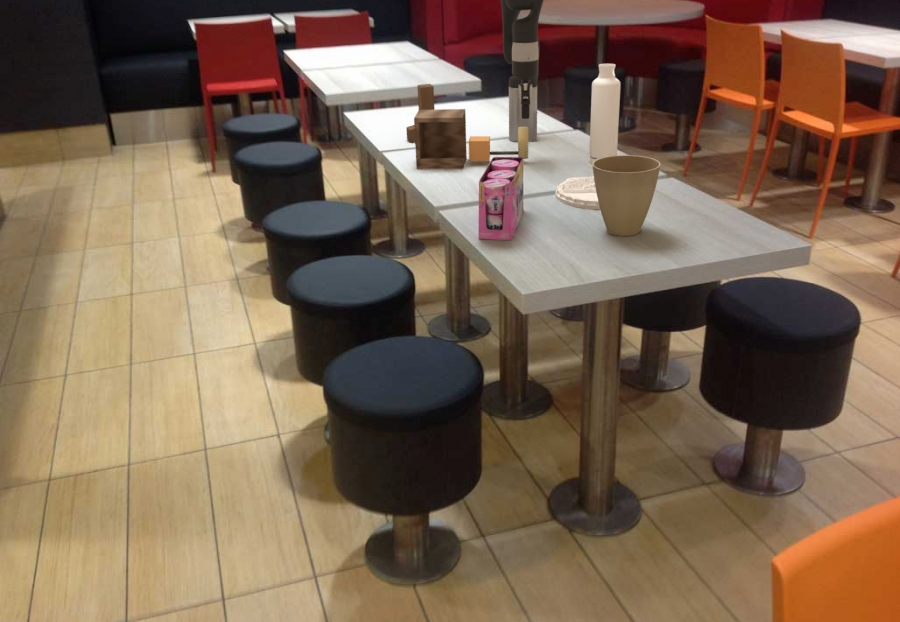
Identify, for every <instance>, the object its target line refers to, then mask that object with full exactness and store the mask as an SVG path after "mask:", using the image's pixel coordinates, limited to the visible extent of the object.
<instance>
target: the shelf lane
mask: <svg viewBox="0 0 900 622" xmlns="http://www.w3.org/2000/svg"><path fill="white" fill-rule="evenodd" d="M466 118H467V117H466V109H465V108H464V109H463V108H458V109H457V108H453V109H452V108H450V109H446V108H445V109H443V108H442V109H434V110H419V109H418V111H417V112H416V114H415V116H414V118H413V125H414V127H415V142H414V143H415V161H416V162H415V164H416V166H415V167H416V169H417V170H436V169H437V170H443V169H445V170H446V169H447V170H451V169H452V170H454V169H455V170H456V169H458V170H459V169H460V170H461V169H465V165H466V163H467V125H466V124H467V122H466V121H467V120H466Z"/></svg>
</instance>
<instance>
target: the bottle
mask: <svg viewBox="0 0 900 622" xmlns="http://www.w3.org/2000/svg"><path fill="white" fill-rule="evenodd" d="M615 69H616V64H615V63H599V64H598V72H599V73H598V74H597V75H598V76H597V77H596V78H595V79H594V80H592V82H591V100H590V104H591V105H590V128H589V129H590V131H589V153H588V155H589V157H588V163H589V164H591V165H592V164H593V162H594V161H595V160H597V159H600V158H603V157H608V156H617V154H618V139H619V122H620V120H619V119H620V100H621V84H622V83H621V81H620V80H619V79H618V78H617V77H616V74H615Z"/></svg>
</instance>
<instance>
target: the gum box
mask: <svg viewBox="0 0 900 622" xmlns="http://www.w3.org/2000/svg"><path fill="white" fill-rule="evenodd" d="M523 212H524V159H523V157H518V156H517V157H516V156H515V157H514V156H493V157H492V159H491V160H490V161H489V163H488V165H487V167H486V169H485V170H484V172H483V174H482V176H481V177H480V178H479V180H478V239H480V240H496V241H499V240H500V241H512V239H513V237H514V235H515V232H516V229H517V227H518V224H519V223H520V220H521V217H522V215H523Z"/></svg>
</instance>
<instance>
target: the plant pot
mask: <svg viewBox="0 0 900 622" xmlns="http://www.w3.org/2000/svg"><path fill="white" fill-rule="evenodd" d="M591 166H592V172H593V176H594V182H595V188H596V193H597V198H598V202H599V206H600V212H601V217H602V219H603V220H602V221H603V223H604V225H605V229H606V231H607V232H608V233H609V234H610V235H614V236H618V237H630V236H636V235H637V234H639V233H640V231H641V229H642V227H643V225H644V222H645V220H646V218H647V215H648V212H649V210H650V208H651V204H652V201H653V198H654V194H655V191H656V188H657V183H658V179H659V174H660V169H661V162H660V161H659V160H658V159H655V158H652V157H649V156H643V155H636V154H635V155H629V154H628V155H627V154H620V155H617V156H608V157H603V158H600V159H597V160H595V161H594V162H593V164H591Z"/></svg>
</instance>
